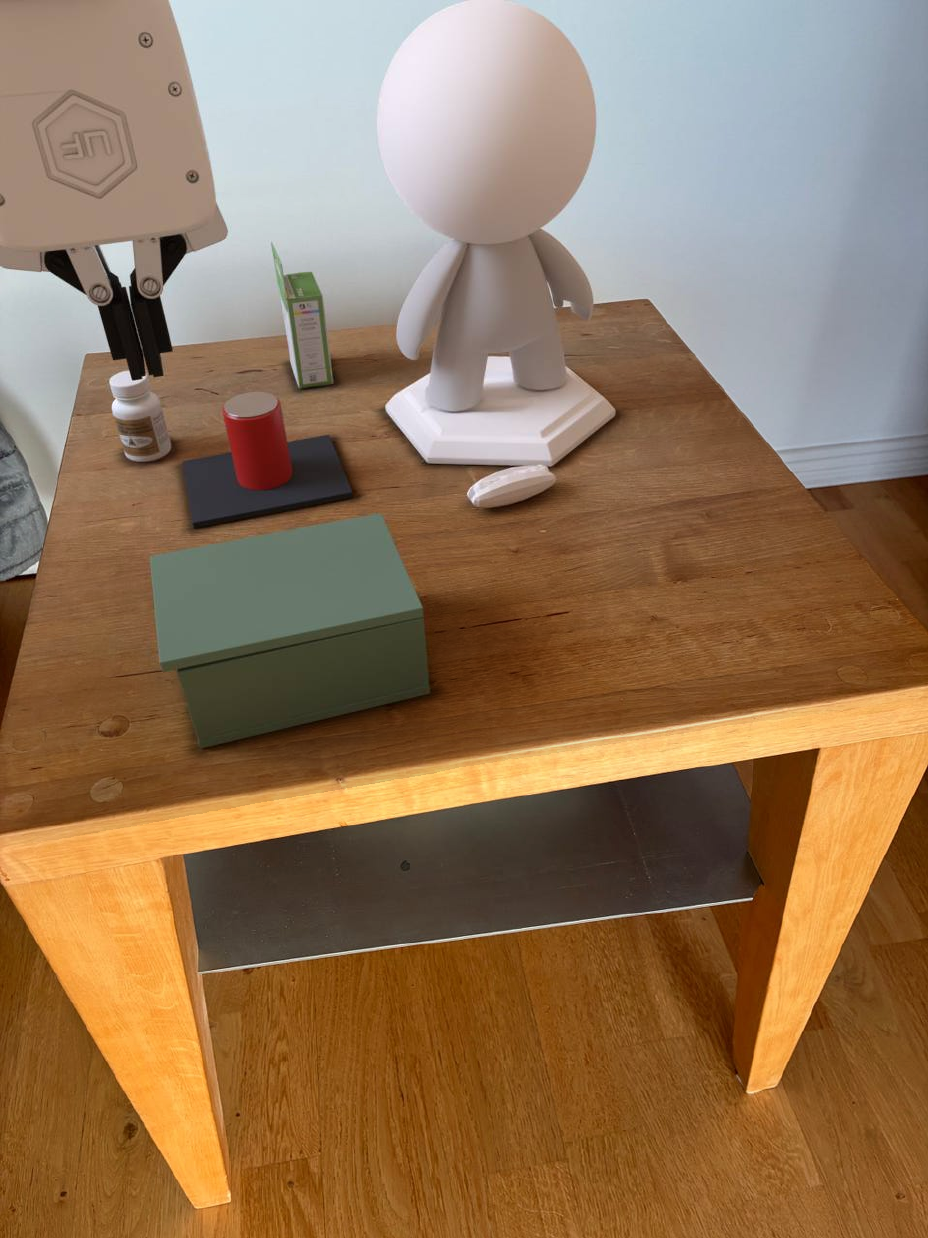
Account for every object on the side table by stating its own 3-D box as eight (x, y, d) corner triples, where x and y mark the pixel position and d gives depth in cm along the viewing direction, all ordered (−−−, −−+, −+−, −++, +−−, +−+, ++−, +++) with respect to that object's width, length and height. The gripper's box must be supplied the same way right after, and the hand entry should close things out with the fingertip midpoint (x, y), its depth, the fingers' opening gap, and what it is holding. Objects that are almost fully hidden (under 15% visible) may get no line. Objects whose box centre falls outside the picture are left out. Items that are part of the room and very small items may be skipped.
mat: (193, 528, 83) (192, 522, 83) (183, 466, 91) (182, 460, 91) (353, 497, 86) (352, 491, 86) (329, 439, 94) (329, 434, 94)
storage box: (200, 749, 63) (177, 673, 59) (186, 639, 72) (164, 565, 68) (430, 693, 67) (424, 617, 62) (390, 595, 75) (382, 522, 71)
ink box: (335, 384, 103) (318, 258, 95) (298, 390, 103) (278, 263, 94) (325, 358, 109) (308, 235, 100) (290, 363, 108) (269, 240, 99)
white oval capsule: (559, 495, 85) (560, 467, 83) (477, 519, 83) (476, 491, 81) (542, 478, 87) (542, 451, 86) (461, 502, 85) (460, 474, 83)
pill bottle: (118, 462, 92) (95, 387, 88) (137, 439, 96) (116, 366, 91) (161, 464, 92) (140, 389, 87) (179, 441, 95) (160, 368, 90)
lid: (162, 672, 59) (159, 663, 58) (151, 564, 67) (149, 555, 67) (423, 617, 62) (423, 607, 62) (382, 521, 71) (381, 512, 70)
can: (241, 494, 86) (225, 421, 81) (234, 467, 90) (218, 396, 85) (296, 484, 87) (284, 411, 82) (287, 457, 91) (275, 386, 86)
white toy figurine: (536, 350, 108) (540, -25, 86) (646, 441, 92) (685, 7, 69) (367, 388, 102) (323, -3, 80) (451, 493, 86) (425, 38, 64)
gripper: (-187, -38, 35) (-10, 425, 46) (234, -66, 38) (301, 374, 49) (-150, -56, 40) (0, 361, 52) (214, -79, 43) (278, 319, 55)
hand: (146, 367), depth 51 cm, fingers closed
